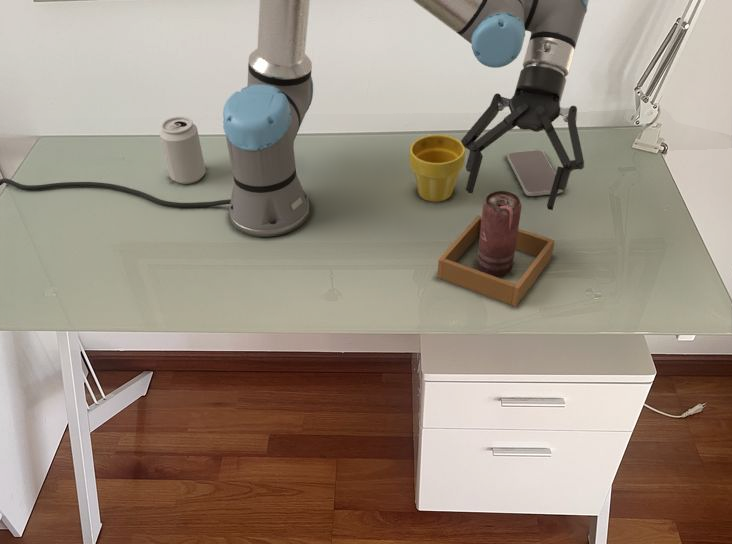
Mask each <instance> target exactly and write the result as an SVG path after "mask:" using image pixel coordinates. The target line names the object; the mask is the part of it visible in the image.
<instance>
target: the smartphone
mask: <svg viewBox="0 0 732 544" xmlns="http://www.w3.org/2000/svg"><path fill="white" fill-rule="evenodd" d="M506 158H507V161H508V164H509V165H510V167H511V169H512V170H513V173H514V174H515V177H516V178H517V181H518V182H519V184H520V187H521V188H522V190H523V193H524V194H525V195H526V196H529V197H537V196H546V195H550V193H551V190H552V186H553V182H554V179H555V175H556V172H555V170H554V168H553V167H552V165H551V163H550V162H549V160H548V158H547V156H546V155H545V152H544V151H543V150H540V149H533V150H532V149H531V150H522V151H511V152H508V154H507V157H506ZM563 191H564V190H559V189H558V193H557V194H561V193H562V192H563Z"/></svg>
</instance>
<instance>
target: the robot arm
mask: <svg viewBox="0 0 732 544" xmlns="http://www.w3.org/2000/svg"><path fill="white" fill-rule="evenodd" d="M411 1H412V2H414V3H415V4H416V5H418V6H419V7H420V8H422V9H423V10H425V11H426V12H427V13H429V14H430V15H431V16H433V17H434V18H436V19H437V20H438V21H440V22H441V23H442V24H443V25H445V26H447V27H448V28H449V29H451V30H452V31H453V32H455V33H456V34H458V35H459V36H460V37H462V38H463V39H464V40H465V41H466V42H468V44H471V50H472V54H473V55H474V57H475V59H476V60H477V61H478V62H479V63H480V64H482V65H484V66H485V67H488V68H493V69H495V68H496V69H497V68H503V67H506V66H508V65H510V64H511V63H513V62H514V61H515V60H516V59H517V58H518V56H519V55H520V53H521V52H522V49H523V45H524V41H525V37H526V31H527V32H529V33H530V37H529V40H528V44H527V47H526V51H525V54H524V58H523V62H522V69H521V70H520V72H519V76H518V78H517V84H516V86H515V90H514V93H513V96H512V97H511V98H507V97H505V96H501V94H500V93H495V94H493V97H492V99H491V102H490V105H489V106H488V107H487V108H486V110H485V111H484V112H483V114H481V115H480V117H479V118H478V119H477V120H476V121H475V122H474V124H473V125H472V126H471V127H470V129H469V130H468V131H467V132H466V133H465V135H464V136H463V137H462V139H461V140H460V141H461V142H462V144H463V146H464V147H465V149H466V150H468V151H469V153H468V157H467V160H466V164H465V170H466V171H467V172H469V175H468V179H467V183H466V185H465V190H466V192H467V193H468V194H472V195H473V193H474V190H475V188H476V187H475V186H476V182H477V180H478V176H479V173H480V168H481V164H482V162H483V158H484V156H483V154H482V151H484V150H485V149H486V148H488V147H489V146H490V145H492V144H493V143H494V142H496V141H497V140H498V139H500V138H501V137H502V136H503V135H505V134H506V133H508V132H509V131H511V130H513V129H514V128H515V127H517V128H519V130H525V131H526V130H530V131H532V132H535V133H539V132H541V131H544V132H545V134H546V136H547V138H548V139H549V142H550V143H551V145H552V147H553V149H554V151H555V154H556V155H557V158H558V160H559V162H560V163H561V165H562V166H557V169H556V172H555V173H556V175H555V179H554V182H553V186H552V190H551V193H550V194H549V197H548V200H547V203H546V207H547V210H549V211H553V210H554V206H555V203H556V200H557V197H558V194H559V193H558V189H559V190H563V191H565V190H566V188H567V186H568V182H569V179H570V176H571V173H572V172H573V171H575V170H580V171H581V170H583V169H584V168H585V160H584V156H583V155H584V154H583V149H582V146H581V145H582V144H581V142H580V141H581V140H580V136H579V132H578V127H577V119H578V107H577V106H576V105H571V106H570V107H562V106H561V101H562V98H563V94H564V90H565V87H566V83H567V76H568V75H569V72H570V69H571V66H572V62H573V59H574V56H575V52H576V46H577V43H578V41H579V40H578V39H579V37H580V33H581V29H582V26H583V22H584V20H585V17H586V14H587V12H588V5H589V0H411ZM310 3H311V0H259V6H258V7H259V8H258V9H259V10H258V28H257V29H258V30H257V48H255V50H253V51H252V52H251V53H250V54H249V55H248V62H247V85H246V86H245V87H242V88H241V89H240V91H238V90H237V91H235V92H233V93H232V94H231V95H230V96H229V97H228V98H227V100H226V101H225V103H224V106H223V110H222V119H223V120H222V123H223V124H222V125H223V132H224V134H225V139H226V145H227V150H228V156H229V161H230V167H231V172H232V177H233V186H232V187H233V188H232V192H231V197H230V199H220V200H214V201H202V202H201V201H199V202H198V201H197V202H176V201H167V200H163V199H160V198H157V197H155V196H152V195H151V194H148V193H146V192H143V191H141V190H137V189H135V188H130V187H127V186H122V185H119V184H115V183H109V182H108V183H107V182H99V181H98V182H97V181H65V182H53V183H45V184H31V185H30V184H29V185H28V184H22V183H19V182H17V181H15V180H12V179H9V178H0V186H2V185H3V184H8V185H10V186H13V187H15V188H17V189H21V190H27V191H36V190H37V191H38V190H47V189H54V188H55V189H56V188H68V187H69V188H71V187H91V188H92V187H94V188H105V189H111V190H117V191H121V192H125V193H128V194H130V195H131V194H132V195H134V196H139V197H142V198H143V199H146V200H147V201H150V202H152V203H155V204H157V205H161V206H166V207H172V208H207V207H208V208H209V207H217V206H224V205H225V206H226V205H229V216H230V221H231V223H232V225H233V226H234V228H236V229H237V230H238V231H239V232H241V233H243V234H246V235H248V236H253V237H258V238H272V237H278V236H283V235H286V234H288V233H291V232H293V231H295V230H297V229H298V228H300V227H301V226H303V224H304V223H306V221H307V220H308V218H309V216H310V201H309V198H308V195H307V193H306V191H305V190H304V189H303V185H302V183H301V181H300V179H299V177H298V175H297V167H296V157H295V148H294V147H295V140H296V138H297V135H298V133H299V130H300V128H301V126H302V123H303V120H304V118H305V116H306V114H307V112H308V110H309V109H310V106H311V104H312V102H313V96H314V81H313V76H312V68H313V64H312V60H311V59H310V57H309V56H308V55H307V54H306V45H307V35H308V24H309V13H310V5H311V4H310ZM507 107H508V108H509V111H510V113H509V114H507V115H506V116H505V117H504V118H503V120H501V121H500V122H498V123H497V124H496V125H495V126H494V127H492V128H491V129H490V130H488V131H487V132H485V134H483V135H482V133H483V132H484V131H485V130H486V129H487V127H488V126H489V125H490V124H492V122H493V120H494V119H495V118H496V117H497V116H498V114H499V112H502V111H504V110H505V108H507ZM560 116H561V117H562V119H563V121H564V122H565V123H567V127H568V128H567V129H568V133H569V138H570V142H571V147H572V151H573V157H574V159H573V160H571V159H570V157H569V155H568V153H567V151H566V148H565V147H564V145H563V143H562V141H561V139H560V138H559V135H558V133H557V132H556V129H555V127H554V125H553V122H554V121H556V120H557V119H558V118H559V117H560ZM481 135H482V136H481Z"/></svg>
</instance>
